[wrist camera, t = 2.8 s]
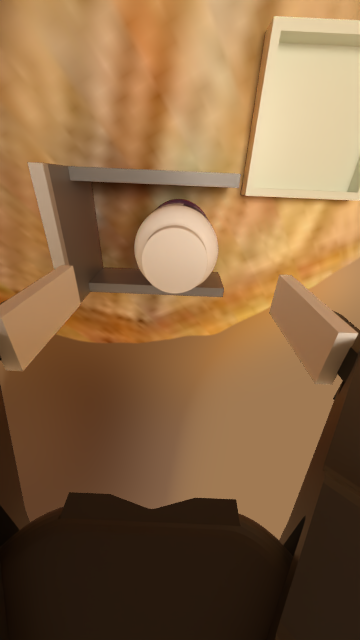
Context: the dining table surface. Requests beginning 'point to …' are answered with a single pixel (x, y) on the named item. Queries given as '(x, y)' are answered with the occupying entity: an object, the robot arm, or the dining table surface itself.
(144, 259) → the pill bottle
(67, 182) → the bay
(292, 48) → the tray
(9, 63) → the dining table surface
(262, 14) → the dining table surface
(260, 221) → the dining table surface
